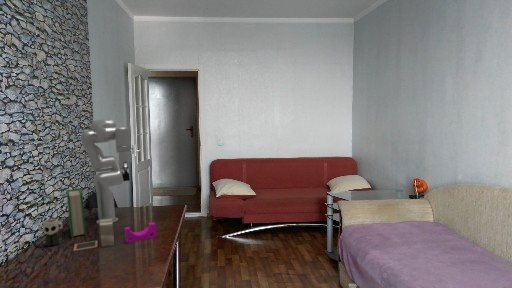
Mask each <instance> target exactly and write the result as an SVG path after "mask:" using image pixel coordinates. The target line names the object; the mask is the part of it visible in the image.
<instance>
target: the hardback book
mask: <svg viewBox="0 0 512 288" xmlns="http://www.w3.org/2000/svg"><path fill="white" fill-rule="evenodd" d="M83 195H84V194H83V192H82V190H81V188H73V189H67V190H66V202H67V211H68V212H67V213H68V222H69V230H70V236H71V239H73V238H75V237H76V236H84V237H85V236H87V229H86V218H85V208H84V197H83Z"/></svg>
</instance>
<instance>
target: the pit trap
mask: <svg viewBox="0 0 512 288" xmlns="http://www.w3.org/2000/svg"><path fill="white" fill-rule="evenodd" d="M98 242H99V241H98V240H97V239H96V240H92V241H86V242H81V243H75V244H74V247H73V250H72V251H73V252H76V251H83V250H88V249H95V248H98Z"/></svg>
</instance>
